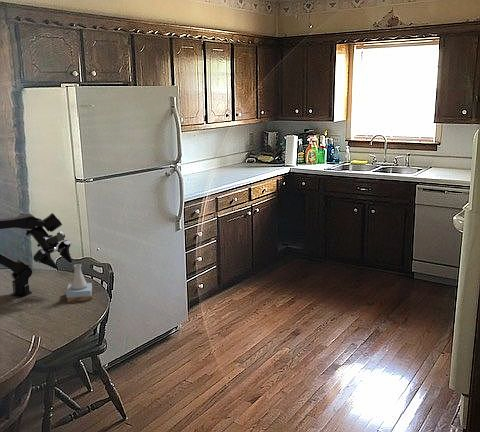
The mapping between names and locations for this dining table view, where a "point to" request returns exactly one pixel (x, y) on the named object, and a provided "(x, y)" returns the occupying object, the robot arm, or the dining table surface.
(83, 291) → the pale blue square slab
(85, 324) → the dining table surface
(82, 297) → the walnut block
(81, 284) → the flask
